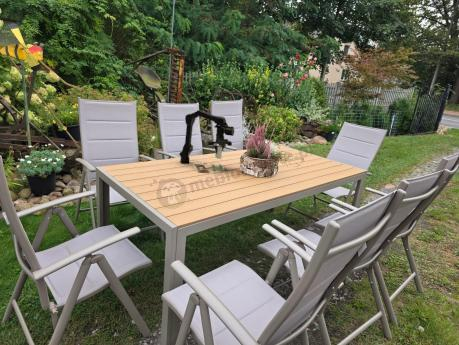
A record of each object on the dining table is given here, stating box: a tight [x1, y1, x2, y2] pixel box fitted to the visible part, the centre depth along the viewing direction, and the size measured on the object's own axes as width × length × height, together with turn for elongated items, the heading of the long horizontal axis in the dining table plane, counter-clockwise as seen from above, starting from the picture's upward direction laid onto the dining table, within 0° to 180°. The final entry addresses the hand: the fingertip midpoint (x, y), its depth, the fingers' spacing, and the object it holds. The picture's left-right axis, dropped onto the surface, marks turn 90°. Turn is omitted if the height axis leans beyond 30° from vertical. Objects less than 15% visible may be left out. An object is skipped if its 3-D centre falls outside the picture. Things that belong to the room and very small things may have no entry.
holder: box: [210, 163, 225, 171], centre depth 232 cm, size 8×9×3 cm
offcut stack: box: [197, 168, 210, 174], centre depth 220 cm, size 8×3×2 cm, turn 99°
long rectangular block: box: [214, 144, 223, 160], centre depth 228 cm, size 3×6×9 cm, turn 18°
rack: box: [195, 164, 207, 171], centre depth 228 cm, size 6×11×2 cm, turn 18°
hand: (218, 153), depth 229 cm, fingers closed on long rectangular block, 3 cm apart
